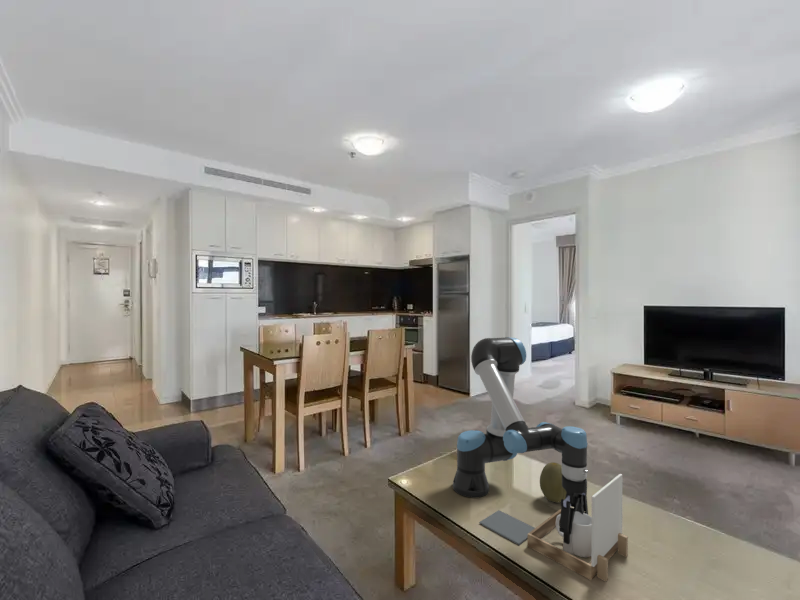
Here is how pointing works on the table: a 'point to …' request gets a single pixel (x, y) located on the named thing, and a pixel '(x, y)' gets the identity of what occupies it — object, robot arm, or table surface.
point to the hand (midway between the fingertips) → (574, 546)
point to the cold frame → (560, 555)
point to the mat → (507, 527)
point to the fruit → (552, 482)
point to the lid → (607, 525)
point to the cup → (580, 534)
